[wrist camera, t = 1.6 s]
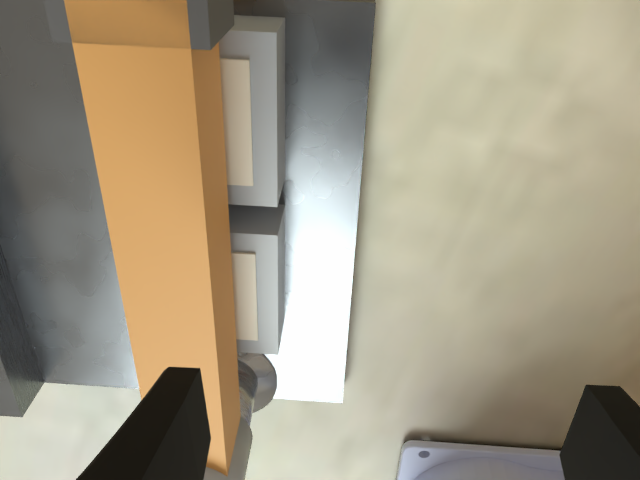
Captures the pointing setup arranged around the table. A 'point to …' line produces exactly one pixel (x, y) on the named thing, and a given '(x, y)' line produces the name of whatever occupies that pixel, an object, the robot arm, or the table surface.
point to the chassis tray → (92, 230)
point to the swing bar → (165, 190)
